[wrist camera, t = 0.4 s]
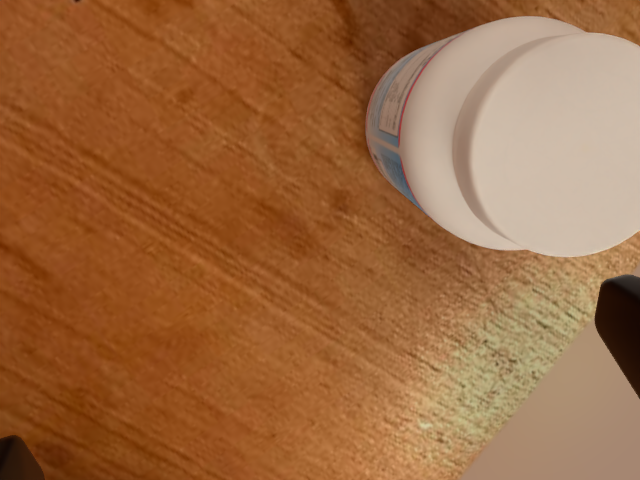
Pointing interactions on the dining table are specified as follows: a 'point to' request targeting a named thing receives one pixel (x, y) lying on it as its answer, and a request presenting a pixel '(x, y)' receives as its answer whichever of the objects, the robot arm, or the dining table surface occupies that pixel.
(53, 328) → the dining table surface
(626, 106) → the pill bottle
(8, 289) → the dining table surface
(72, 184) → the dining table surface
